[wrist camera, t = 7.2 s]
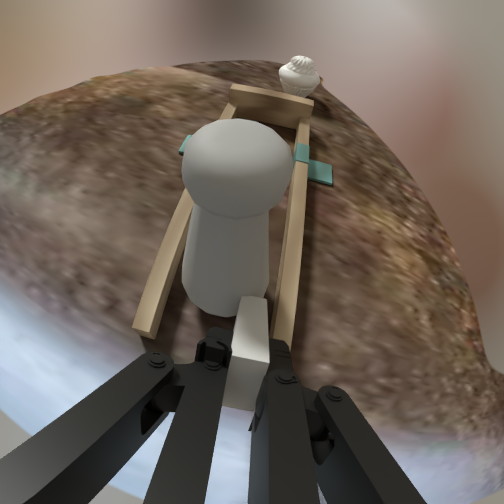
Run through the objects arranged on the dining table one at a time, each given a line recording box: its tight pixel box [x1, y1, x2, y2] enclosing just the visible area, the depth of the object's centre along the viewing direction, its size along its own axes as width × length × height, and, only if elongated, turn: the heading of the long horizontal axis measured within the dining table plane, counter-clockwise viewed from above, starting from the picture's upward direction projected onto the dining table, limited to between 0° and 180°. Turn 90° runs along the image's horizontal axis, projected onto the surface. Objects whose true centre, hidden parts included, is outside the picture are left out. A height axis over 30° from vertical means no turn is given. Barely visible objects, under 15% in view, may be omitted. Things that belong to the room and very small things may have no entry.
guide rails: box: [132, 84, 332, 350], centre depth 24 cm, size 16×29×4 cm, turn 170°
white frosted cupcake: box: [279, 56, 320, 98], centre depth 35 cm, size 6×6×7 cm
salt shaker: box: [182, 119, 293, 318], centre depth 15 cm, size 6×6×13 cm
